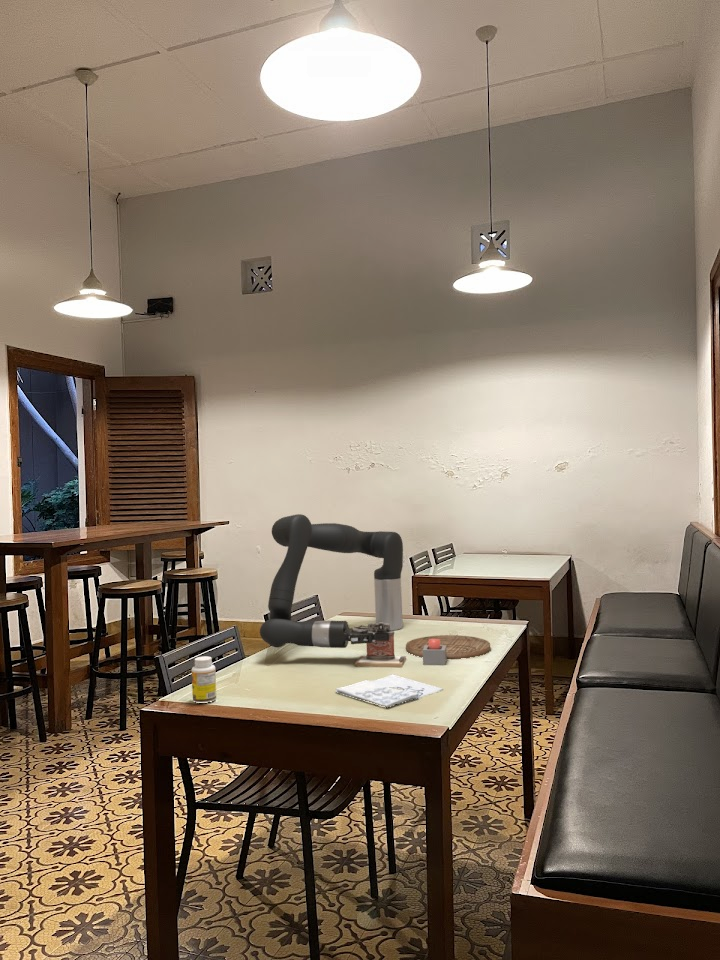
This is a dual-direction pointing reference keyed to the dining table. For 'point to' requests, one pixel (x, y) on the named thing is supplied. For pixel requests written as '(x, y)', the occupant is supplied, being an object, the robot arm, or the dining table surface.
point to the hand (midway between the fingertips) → (390, 635)
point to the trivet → (452, 646)
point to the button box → (434, 655)
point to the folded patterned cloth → (388, 690)
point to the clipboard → (381, 662)
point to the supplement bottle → (203, 680)
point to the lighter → (381, 644)
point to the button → (434, 643)
